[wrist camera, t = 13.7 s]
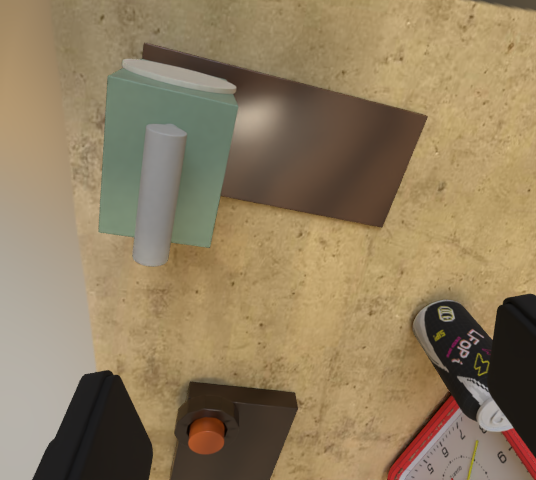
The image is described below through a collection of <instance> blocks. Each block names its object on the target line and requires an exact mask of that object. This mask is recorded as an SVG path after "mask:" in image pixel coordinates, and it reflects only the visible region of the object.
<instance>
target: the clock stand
mask: <svg viewBox="0 0 536 480" xmlns="http://www.w3.org/2000/svg"><path fill="white" fill-rule="evenodd" d="M142 59H145V60H149V61H153V62H157V63H162V64H167V65H171V66H176V67H180V68H184V69H188V70H192V71H196V72H199V73H203V74H206V75H210V76H214V77H218V78H222V79H226V80H227V82H229V83H231V84H233V85H235V86H236V92H235V93H234V94H233V95H234V97H235V100H236V102H237V104H238V112H237V117H236V122H235V127H234V131H233V136H232V141H231V146H230V151H229V156H228V161H227V166H226V171H225V176H224V181H223V186H222V191H221V196H224V197H229V198H234V199H239V200H244V201H249V202H254V203H260V204H265V205H270V206H275V207H280V208H285V209H290V210H295V211H300V212H306V213H311V214H316V215H321V216H326V217H331V218H336V219H341V220H347V221H352V222H357V223H362V224H367V225H372V226H377V227H383V224H384V222H385V219H386V217H387V215H388V212H389V210H390V207H391V205H392V202H393V200H394V198H395V195H396V193H397V190H398V188H399V185H400V183H401V181H402V178H403V176H404V173H405V171H406V168H407V166H408V163H409V161H410V159H411V156H412V154H413V151H414V149H415V146H416V144H417V142H418V139H419V137H420V134H421V132H422V129H423V127H424V125H425V122H426V120H427V117H428V116H426V115H422V114H419V113H415V112H411V111H407V110H403V109H399V108H395V107H392V106H388V105H384V104H380V103H376V102H372V101H368V100H365V99H361V98H357V97H353V96H349V95H345V94H341V93H338V92H334V91H330V90H326V89H322V88H318V87H314V86H311V85H307V84H303V83H299V82H295V81H291V80H287V79H284V78H280V77H276V76H272V75H268V74H264V73H260V72H257V71H253V70H249V69H245V68H241V67H237V66H233V65H230V64H226V63H222V62H218V61H214V60H210V59H207V58H203V57H199V56H195V55H191V54H187V53H183V52H180V51H176V50H172V49H168V48H164V47H160V46H156V45H153V44H149V43H144V47H143V57H142Z"/></svg>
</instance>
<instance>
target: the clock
mask: <svg viewBox="0 0 536 480" xmlns="http://www.w3.org/2000/svg"><path fill="white" fill-rule="evenodd" d="M122 67H123V68H122V69H120V70H119V71H117V72H115V73H113V74H111V75H109V76H108V81H107V97H106V114H105V131H104V147H103V164H102V181H101V197H100V214H99V232H100V233H107V234H114V235H121V236H128V237H134V246H133V255H132V256H133V259H134V260H135V261H136V262H137V263H139V264H141V265H145V266H152V267H154V266H161V265H163V264H165V263H166V262H167V261H168V257H169V251H170V244H171V243H178V244H185V245H192V246H199V247H206V248H210V245H211V240H212V235H213V230H214V225H215V220H216V215H217V210H218V205H219V201H220V196H221V191H222V186H223V181H224V176H225V171H226V166H227V161H228V156H229V151H230V146H231V141H232V136H233V131H234V127H235V122H236V117H237V112H238V104H237V102H236V100H235V97H234V95H233V94H234V93H235V92H236V86H235V85H233V84H231V83H229V82H227V80H226V79H222V78H218V77H214V76H210V75H206V74H203V73H199V72H196V71H192V70H188V69H184V68H180V67H176V66H171V65H167V64H162V63H157V62H153V61H149V60H145V59H140V60H137V59H123V60H122Z"/></svg>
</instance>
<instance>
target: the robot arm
mask: <svg viewBox="0 0 536 480" xmlns="http://www.w3.org/2000/svg"><path fill="white" fill-rule="evenodd" d="M487 388H488V391H489V393H490V395H491V397H492V399H493V400H494V401H495V403H496V404H497V406H498V407H499V408H500V410H501V411H502V412H503V414H504V415H505V417H506V418H507V419H508V421H509V422H510V424H511V425H512V426H513V428H514V429H515V431H516V432H517V433H518V435H519V436H520V437H521V439H522V440H523V442H524V443H525V444H526V446H527V447H528V449H529V450H530V451H531V453H532V454H533V455H534V457H535V458H536V296H535V295H534V294H526V295H520V296H515V297H509V298H506V299H505V300H504V301H503V305H500V306H499V307H498V309H497V315H496V322H495V329H494V336H493V343H492V350H491V357H490V364H489V371H488V377H487ZM152 458H153V448H152V444H151V441H150V439H149V437H148V435H147V433H146V431H145V429H144V426H143V424H142V422H141V420H140V418H139V416H138V414H137V411H136V409H135V407H134V405H133V403H132V401H131V399H130V397H129V394H128V392H127V390H126V388H125V386H124V384H123V382H122V380H121V378H120V376H119V375H113V373H112V372H111V371H109V370H106V371H101V372H95V373H90V374H85V375H84V376H82V378H81V380H80V382H79V384H78V387H77V389H76V391H75V393H74V396H73V398H72V400H71V402H70V405H69V407H68V409H67V412H66V414H65V416H64V418H63V421H62V423H61V426H60V428H59V430H58V432H57V434H56V437H55V438H54V439H53V440H52V441H51V442H50V443H49V445H48V447H47V449H46V450H45V453H44V455H43V457H42V459H41V462H40V464H39V466H38V468H37V471H36V473H35V475H34V477H33V479H32V480H149V475H150V469H151V464H152Z"/></svg>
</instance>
